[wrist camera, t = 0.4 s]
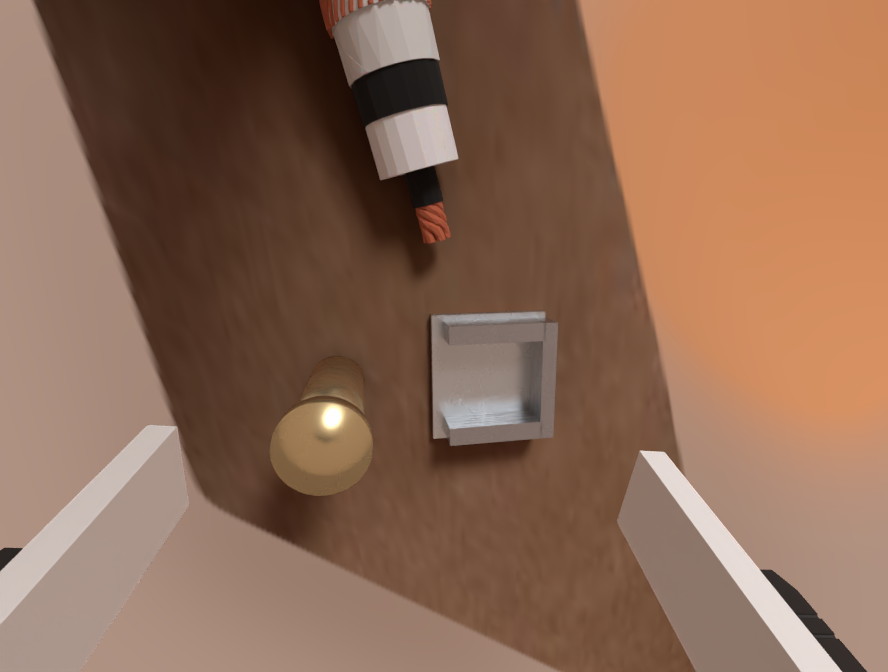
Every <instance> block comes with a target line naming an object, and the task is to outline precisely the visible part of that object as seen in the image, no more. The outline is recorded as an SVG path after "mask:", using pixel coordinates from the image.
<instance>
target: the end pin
mask: <svg viewBox="0 0 888 672" xmlns="http://www.w3.org/2000/svg"><path fill="white" fill-rule="evenodd" d="M364 385H365V379H364V374H363V372H362V370H361V368H360V367H359V365H358V364H357V363H356V362H354V361H353V360H351V359H349V358H347V357H343V356H332V357H328V358H326V359H324V360H322V361H321V362H319V363H318V364H317V365H316V366H315V368H314V369H313V371H312V374H311V376H310V378H309V380H308V382H307V385H306V387H305V389H304V391H303V394H302V396H301V398H300V400H299V402H298V403H297V404H295V405H294V406H292V407H291V408H290V409H289V410H288V411H287V412H286V413H285V414H284V415H283V416H282V418H281V420H280V421H279V423H278V425H277V427H276V429H275V431H274V433H273V436H272V439H271V443H270V458H271V462H272V465H273V468H274V470H275V472H276V473H277V475H278V476H279V477H280V479H281V480H282V481H283V482H284V483H286V484H287V485H288V486H289V487H291V488H293V489H294V490H296V491H299V492H301V493H304V494H308V495H315V496H326V495H332V494H336V493H339V492H341V491H344V490H346V489H348V488H349V487H351V486H352V485H354V484H355V483H356V482H357V481H358V480H359V479H360V478H361V477H362V476H363V475H364V473H365V472H366V470H367V469H368V467H369V464H370V462H371V458H372V453H373V437H372V430H371V426H370V424H369V422H368V420H367V418H366V416H365V415H364Z"/></svg>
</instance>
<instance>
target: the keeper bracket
mask: <svg viewBox="0 0 888 672" xmlns="http://www.w3.org/2000/svg"><path fill="white" fill-rule="evenodd" d="M430 332H431V394H432V436H433V439H438V438H447V440H448V442H449V445H450V446H456V445H468V444H480V443H492V442H503V441H515V440H527V439H539V438H551V437H553V429H554V405H555V382H556V358H557V335H558V322H556V321H553V320H550V319H548V318H545V311H542V310H540V311H511V312H483V313H454V314H430Z"/></svg>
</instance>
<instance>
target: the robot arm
mask: <svg viewBox="0 0 888 672" xmlns="http://www.w3.org/2000/svg"><path fill="white" fill-rule="evenodd" d="M188 506H189V498H188V492H187V486H186V479H185V473H184V466H183V460H182V454H181V447H180V441H179V435H178V428H177V426H162V425H147V426H146V427H145V428H144V429H143V430H142V431H141V432H140V433H139V434H138V435H137V436H136V437H135V438H134V439H133V440H132V441H131V442H130V443H129V444H128V445H127V446H126V447H125V448H124V449H123V450H122V451H121V452H120V453H119V454H118V455H117V456H116V457H115V458H114V459H113V460H112V461H111V462H110V463H109V464H108V465H107V466H106V467H105V468H104V469H103V470H102V471H101V472H100V473H99V474H98V475H97V476H96V477H95V478H94V479H93V480H92V481H91V482H90V483H89V484H88V485H87V486H86V487H85V488H84V489H83V490H82V491H81V492H80V493H79V494H78V495H77V496H76V497H75V498H74V499H73V500H72V501H71V502H70V503H69V504H68V505H67V506H66V507H65V508H63V509H62V511H60V512H59V514H57V516H55V518H53V519H52V520H51V522H50V523H48V525H46V527H44V528H43V529H42V530H41V531H40V532H39V533H38V534H37V535H36V536H35V537H34V538H33V539H32V540H31V541H30V542H29V543H28V544H27V545H26V546H25V547H24V548H4V549H2V550H0V672H80V670H81V669H82V668H83V666H84V665H85V663H86V661H87V660H88V658H89V657H90V655H91V654H92V652H93V651H94V649H95V648H96V646H97V645H98V643H99V642H100V640H101V639H102V637H103V636H104V634H105V633H106V631H107V629H108V628H109V627H110V625H111V623H112V622H113V620H114V619H115V617H116V616H117V614H118V613H119V611H120V610H121V608H122V607H123V605H124V604H125V602H126V601H127V599H128V598H129V596H130V595H131V593H132V592H133V590H134V589H135V587H136V586H137V584H138V582H139V581H140V579H141V578H142V576H143V575H144V573H145V572H146V570H147V569H148V567H149V566H150V564H151V563H152V561H153V560H154V558H155V556H156V555H157V554H158V552H159V551H160V549H161V547H162V546H163V544H164V543H165V541H166V540H167V538H168V537H169V535H170V534H171V532H172V531H173V529H174V527H175V526H176V525H177V523H178V522H179V520H180V519H181V517H182V515H183V514H184V513H185V511H186V509H187V508H188ZM617 523H618V525H619V527H620V529H621V531H622V532H623V534H624V536H625V538H626V540H627V542H628V544H629V546H630V548H631V550H632V551H633V553H634V555H635V557H636V559H637V561H638V563H639V565H640V567H641V568H642V570H643V572H644V574H645V576H646V578H647V580H648V582H649V584H650V585H651V587H652V589H653V591H654V593H655V595H656V597H657V599H658V601H659V603H660V604H661V606H662V608H663V610H664V612H665V614H666V616H667V618H668V620H669V621H670V623H671V625H672V627H673V629H674V631H675V633H676V635H677V637H678V638H679V640H680V642H681V644H682V646H683V648H684V650H685V652H686V654H687V656H688V657H689V659H690V661H691V663H692V665H693V667H694V669H695V671H696V672H867V671H866V670H865V669H864V668H863V667H862V666H861V664H860V663H859V662H858V661H857V660H856V658H855V657H854V656H853V655H852V654H851V652H850V651H849V650H848V649H847V648H846V647H845V645H844V644H843V643H842V642H841V641H840V640H839V639H836V638H835V636H834V633H833V631H832V630H831V629H830V628H829V627H828V626H827V624H826V623H825V622H824V621H823V620H822V619H819V618H818V616H817V613H816V612H815V611H814V609H813V608H812V607H811V606H810V605H809V603H808V602H807V601H806V600H805V599H804V598H803V597H802V595H801V594H800V593H799V592H798V591H797V590H796V589H795V588H794V587H792V586H791V585H790V584H789V583H787V582H786V581H785V580H784V579H782V578H781V577H780V576H779V575H777V574H776V573H775V572H774V571H772V570H759V568H758V567H757V566H756V565H755V564H754V562H753V561H752V560H751V559H750V557H749V556H748V555H747V554H746V552H745V551H744V550H743V549H742V547H741V546H740V545H739V544H738V542H737V541H736V540H735V539H734V538H733V536H732V535H731V534H730V533H729V531H728V530H727V529H726V528H725V526H724V525H723V524H722V523H721V521H720V520H719V519H718V518H717V517H716V515H715V514H714V513H713V512H712V510H711V509H710V508H709V507H708V505H707V504H706V503H705V502H704V501H703V499H702V498H701V497H700V496H699V494H698V493H697V492H696V491H695V489H694V488H693V487H692V486H691V484H690V483H689V482H688V481H687V479H686V478H685V477H684V476H683V475H682V473H681V472H680V471H679V470H678V468H677V467H676V466H675V465H674V463H673V462H672V461H671V460H670V458H669V457H668V456H667V455H666V454H665V452H653V451H639V454H638V457H637V461H636V464H635V467H634V470H633V473H632V476H631V479H630V482H629V485H628V488H627V491H626V494H625V498H624V501H623V504H622V507H621V510H620V513H619V516H618V519H617Z"/></svg>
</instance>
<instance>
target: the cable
mask: <svg viewBox="0 0 888 672" xmlns="http://www.w3.org/2000/svg"><path fill="white" fill-rule="evenodd" d="M319 3H320V8H321V12H322V16H323V19H324V23H325V26H326V30H327V32H328V34H329V36H330V38H331V39H333V38H334V39H335V41H336V44H337V48H338V50H339V54H340V57H341V60H342V64H343V67H344V71H345V74H346V77H347V81H348V84H349V87H350V88H351V89H352V91H353V95H354V98H355V102H356V105H357V108H358V112H359V115H360V119H361V122H362V125H363V128H364V129H365V130H366V132H367V136H368V139H369V143H370V146H371V150H372V153H373V157H374V160H375V164H376V167H377V171H378V174H379V178H380V180H385V179H389V178H393V177H397V176H401V175H404V174H405V178H406V181H407V185H408V189H409V193H410V196H411V200H412V204H413V208H415V209H416V215H417V218H418V220H419V225H420V229H421V231H422V236H423V241H424V243H428V244H429V243H433V242H436V240H437V241H442V240H445V239H446V238H449V237H451V235H450V231H449V227H448V225H447V224H446V216H445V214H444V208H443V204H442V203H441V201H443V198H442V195H441V191H440V187H439V183H438V179H437V176H436V172H435V168H434V166H437V165H440V164H444V163H447V162H451V161H454V160H457V159H459V158H458V154H457V150H456V146H455V141H454V137H453V133H452V129H451V124H450V120H449V116H448V111H447V105H448V103H447V99H446V94H445V90H444V85H443V81H442V76H441V72H440V67H439V63H440V59H439V54H438V50H437V45H436V41H435V36H434V32H433V27H432V23H431V18H430V14H429V10H430V9H431V0H319Z"/></svg>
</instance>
